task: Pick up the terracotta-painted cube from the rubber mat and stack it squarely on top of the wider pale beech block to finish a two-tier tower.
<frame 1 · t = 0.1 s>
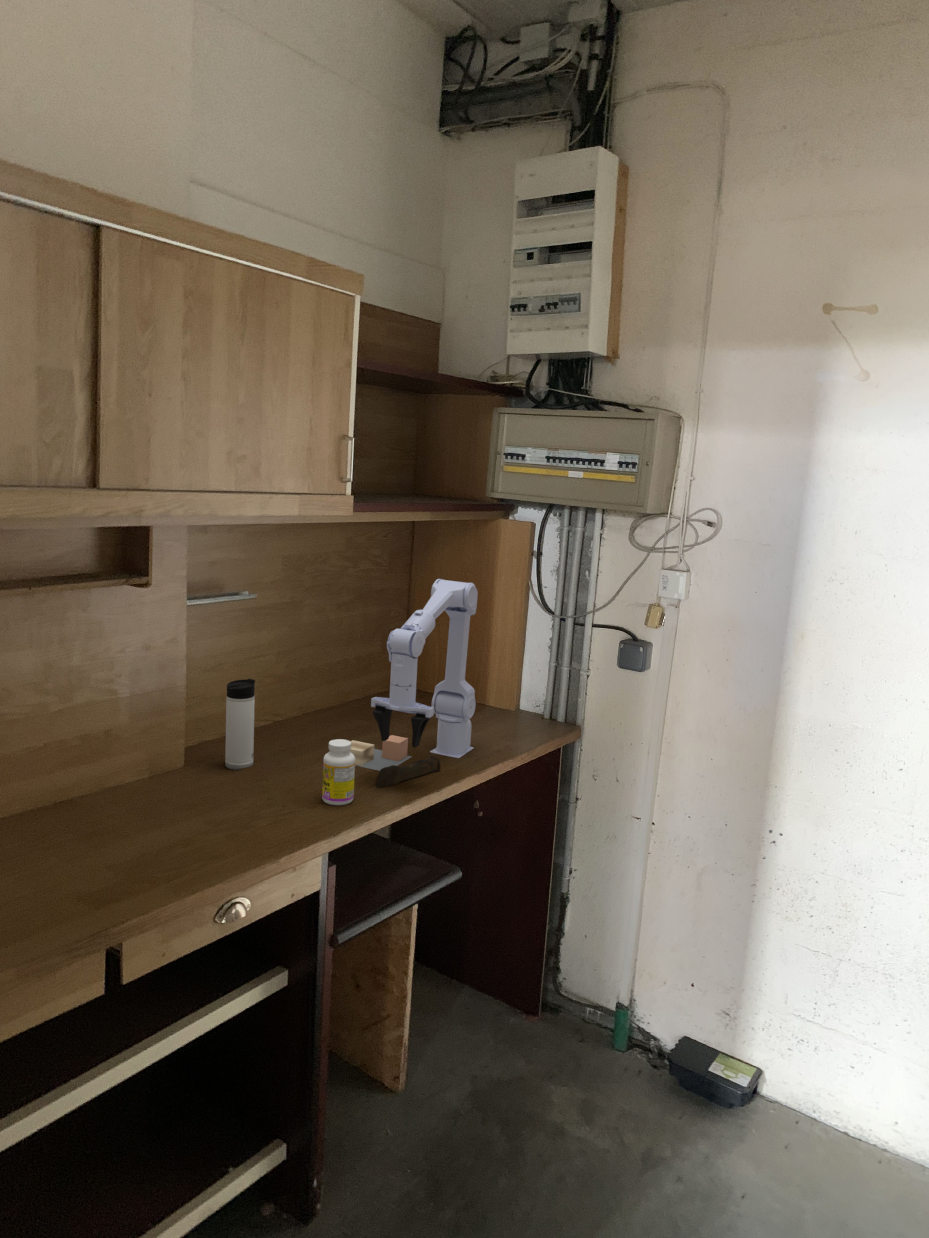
hand: (400, 742, 202), 10 cm above the table, tool pointing down, fingers open, 7 cm apart
terracotta cube: (394, 756, 221), resting on rubber mat
hand tool: (408, 782, 208), on the table
supplement bottle: (337, 801, 193), on the table
rubber mat: (373, 760, 219), on the table
beech block: (356, 759, 218), resting on rubber mat
travel mug: (239, 766, 211), on the table
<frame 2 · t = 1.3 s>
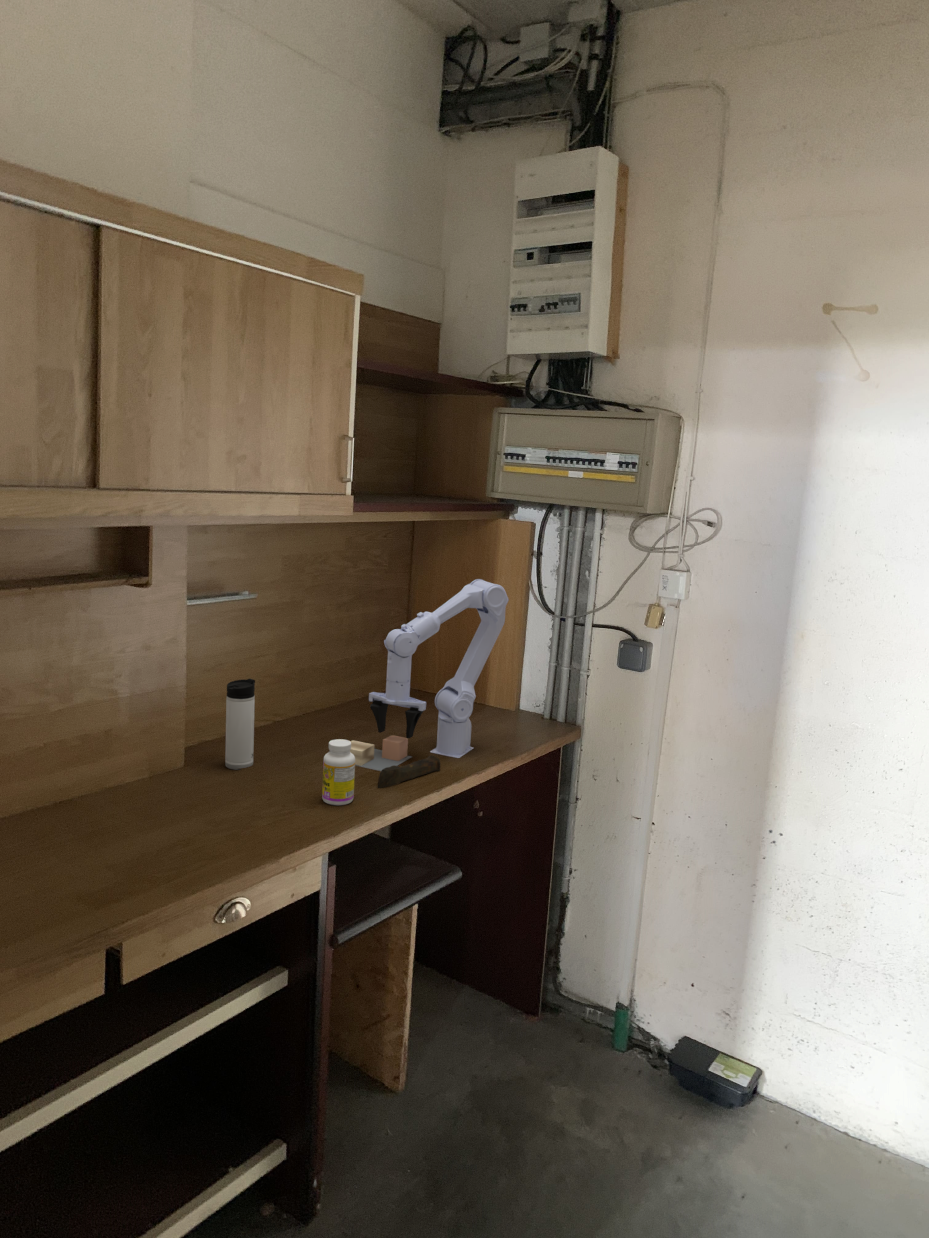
hand: (395, 734, 220), 6 cm above the table, tool pointing down, fingers open, 7 cm apart
nothing on the table moved.
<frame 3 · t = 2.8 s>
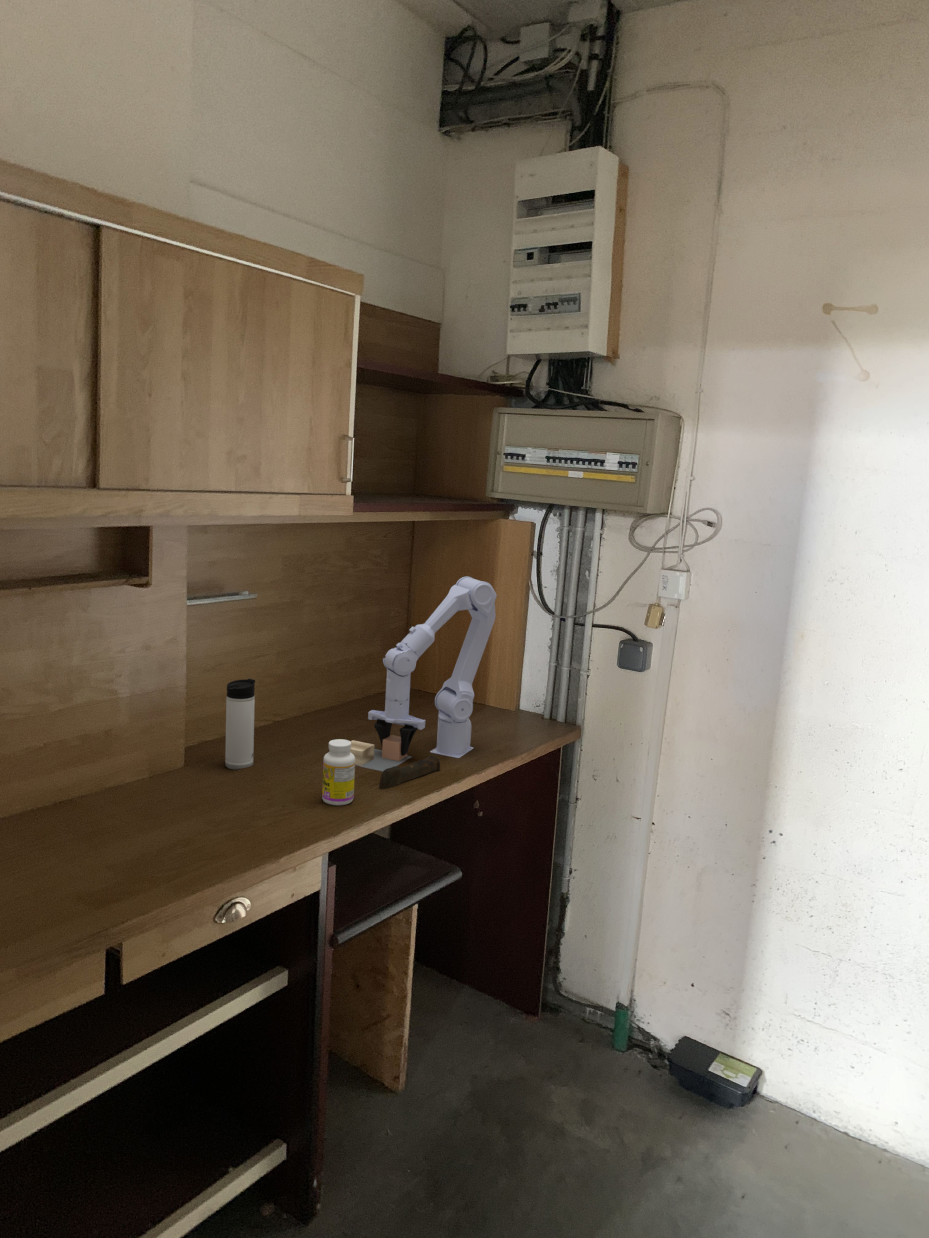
hand: (394, 752, 221), 2 cm above the table, tool pointing down, fingers closed on terracotta cube, 4 cm apart
terracotta cube: (394, 756, 221), resting on rubber mat, touching gripper
everything else where it was.
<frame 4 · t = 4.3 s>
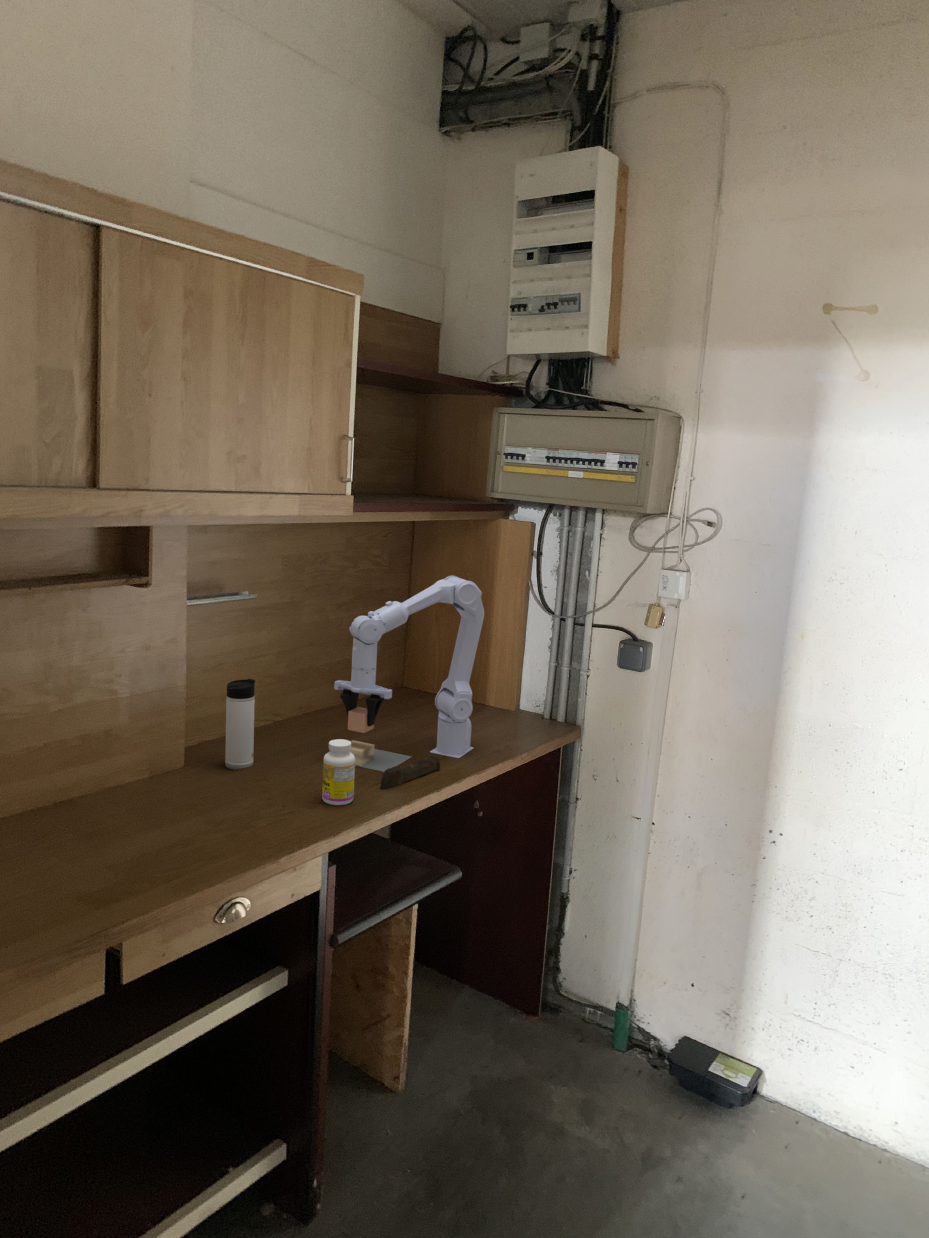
hand: (361, 723, 216), 10 cm above the table, tool pointing down, fingers closed on terracotta cube, 4 cm apart
terracotta cube: (360, 728, 216), point 8 cm above the table, touching gripper
everything else where it was.
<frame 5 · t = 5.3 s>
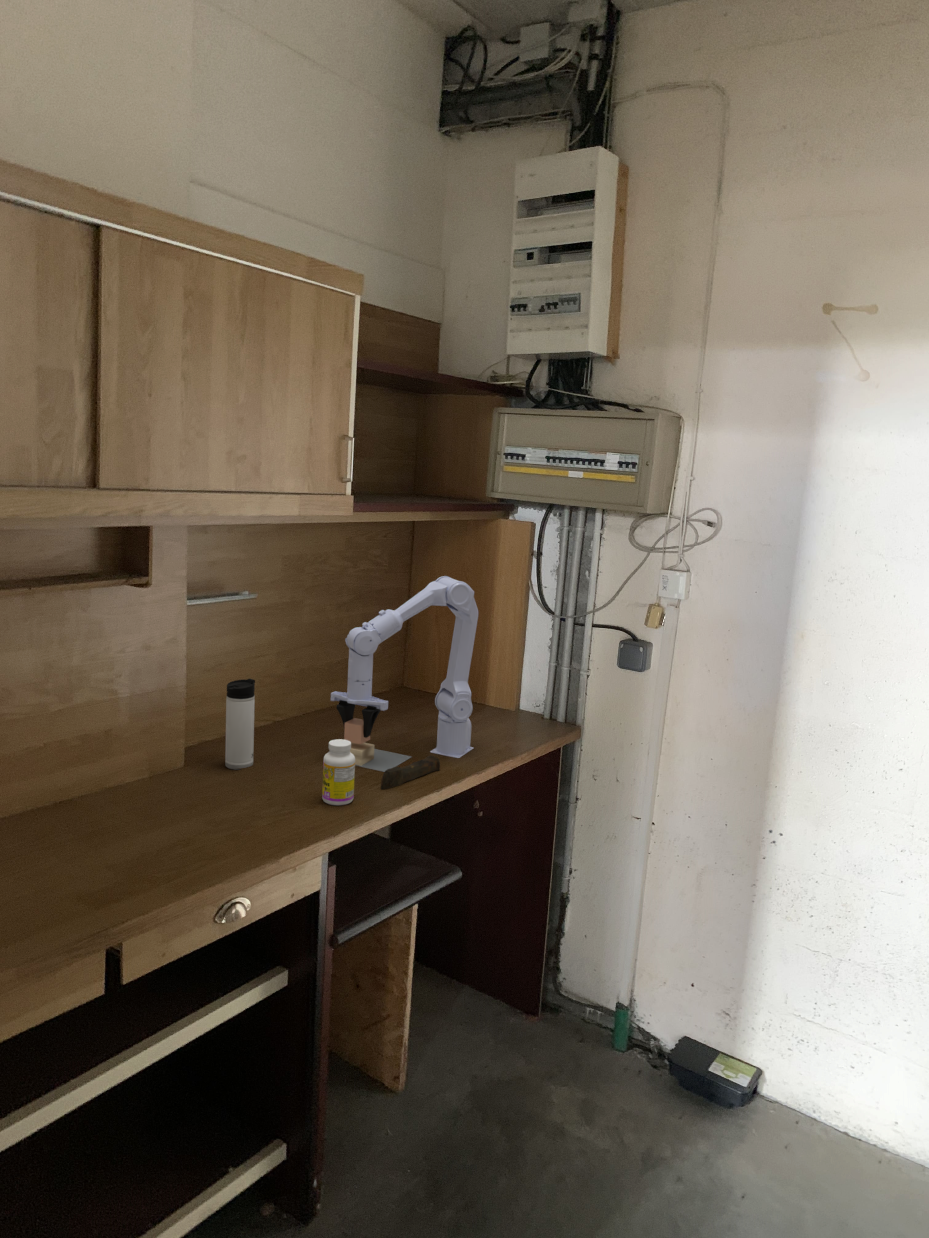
hand: (357, 734, 216), 7 cm above the table, tool pointing down, fingers closed on terracotta cube, 4 cm apart
terracotta cube: (357, 740, 217), point 5 cm above the table, touching gripper
everything else where it was.
when the fingers open (7 cm above the table, at t = 5.8 s): terracotta cube drops 1 cm, resting on beech block.
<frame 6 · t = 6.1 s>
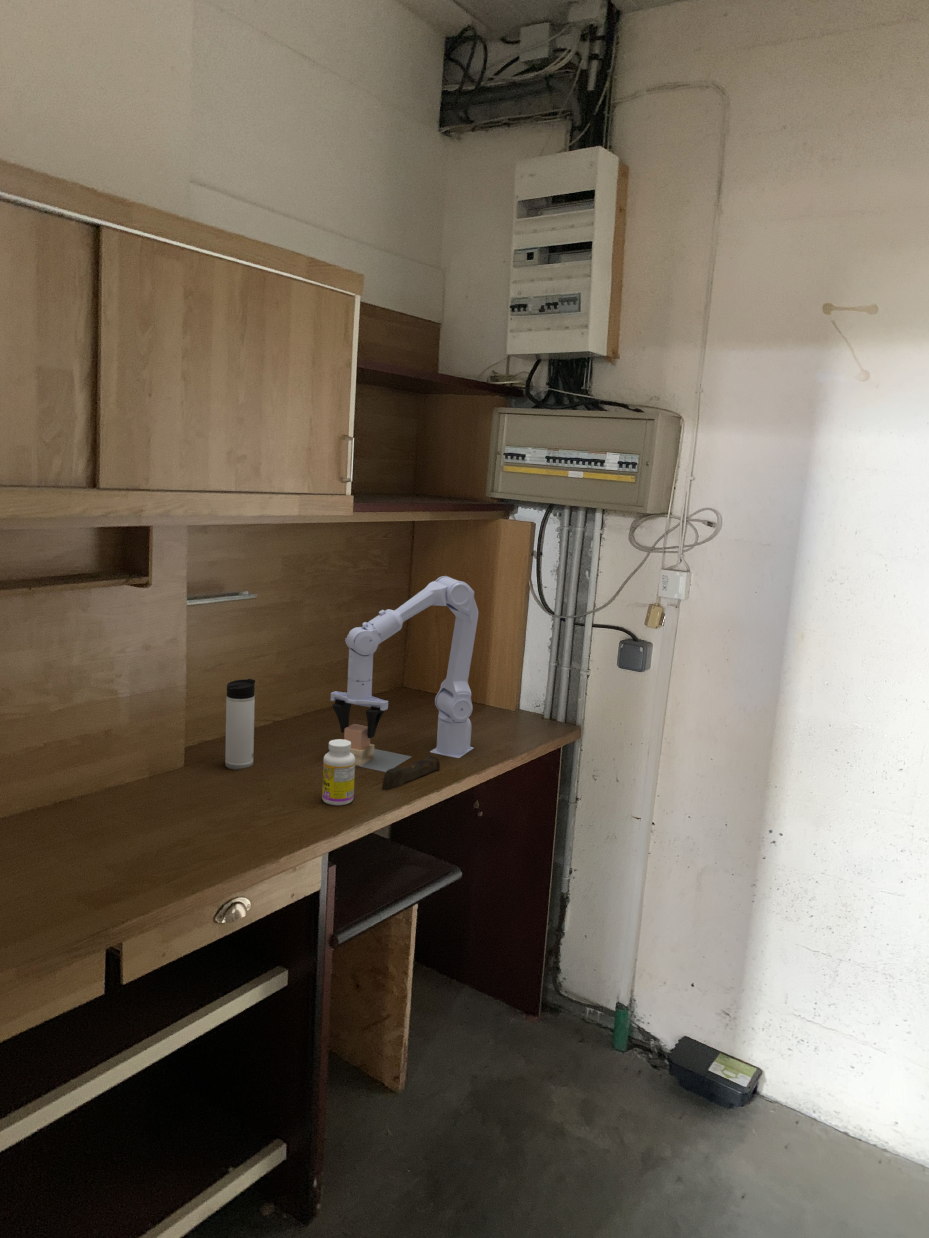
hand: (357, 734, 216), 7 cm above the table, tool pointing down, fingers open, 7 cm apart
terracotta cube: (356, 745, 217), point 4 cm above the table, touching beech block
beech block: (356, 759, 218), resting on rubber mat, touching terracotta cube
everything else where it was.
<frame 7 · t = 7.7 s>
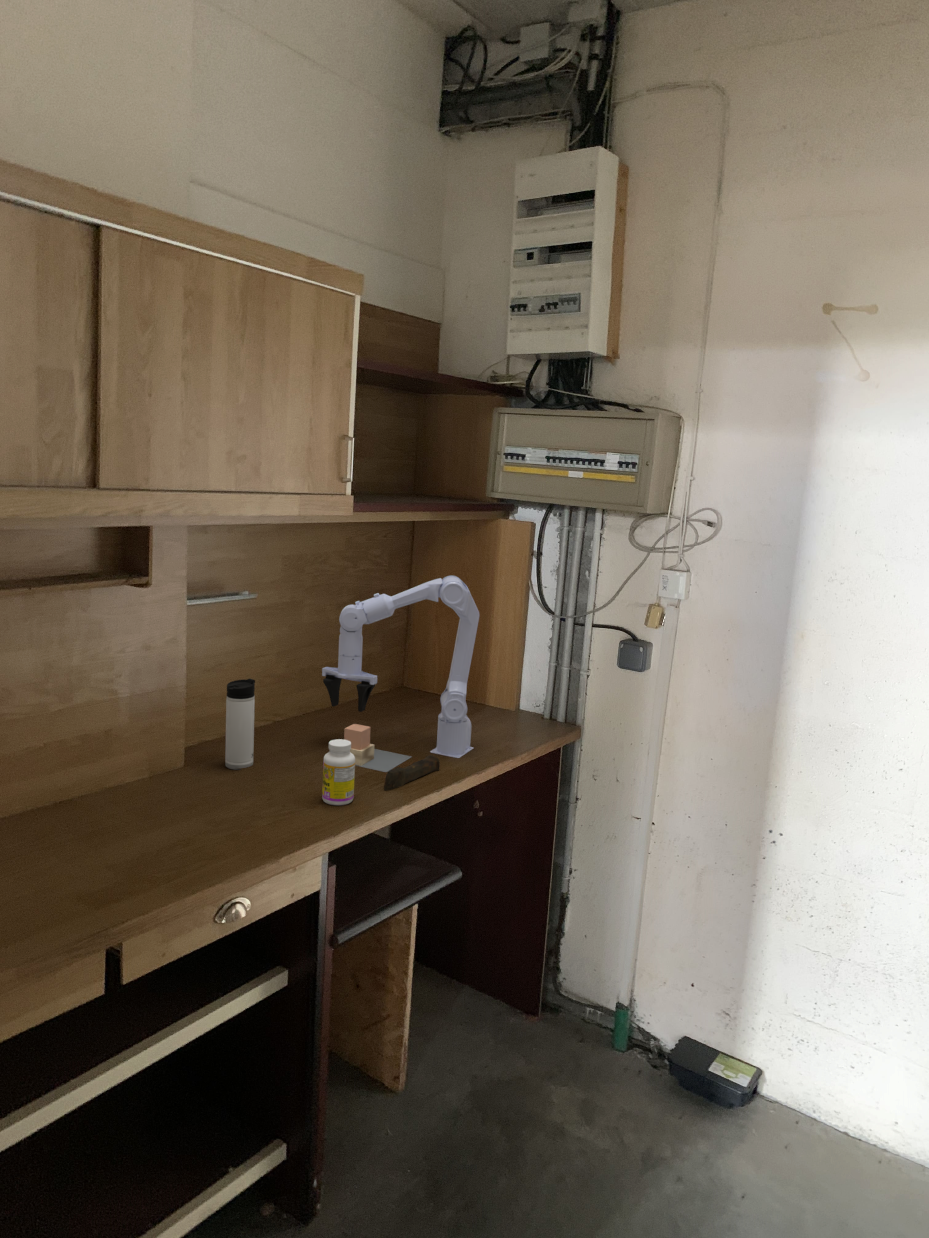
hand: (348, 708, 225), 10 cm above the table, tool pointing down, fingers open, 7 cm apart
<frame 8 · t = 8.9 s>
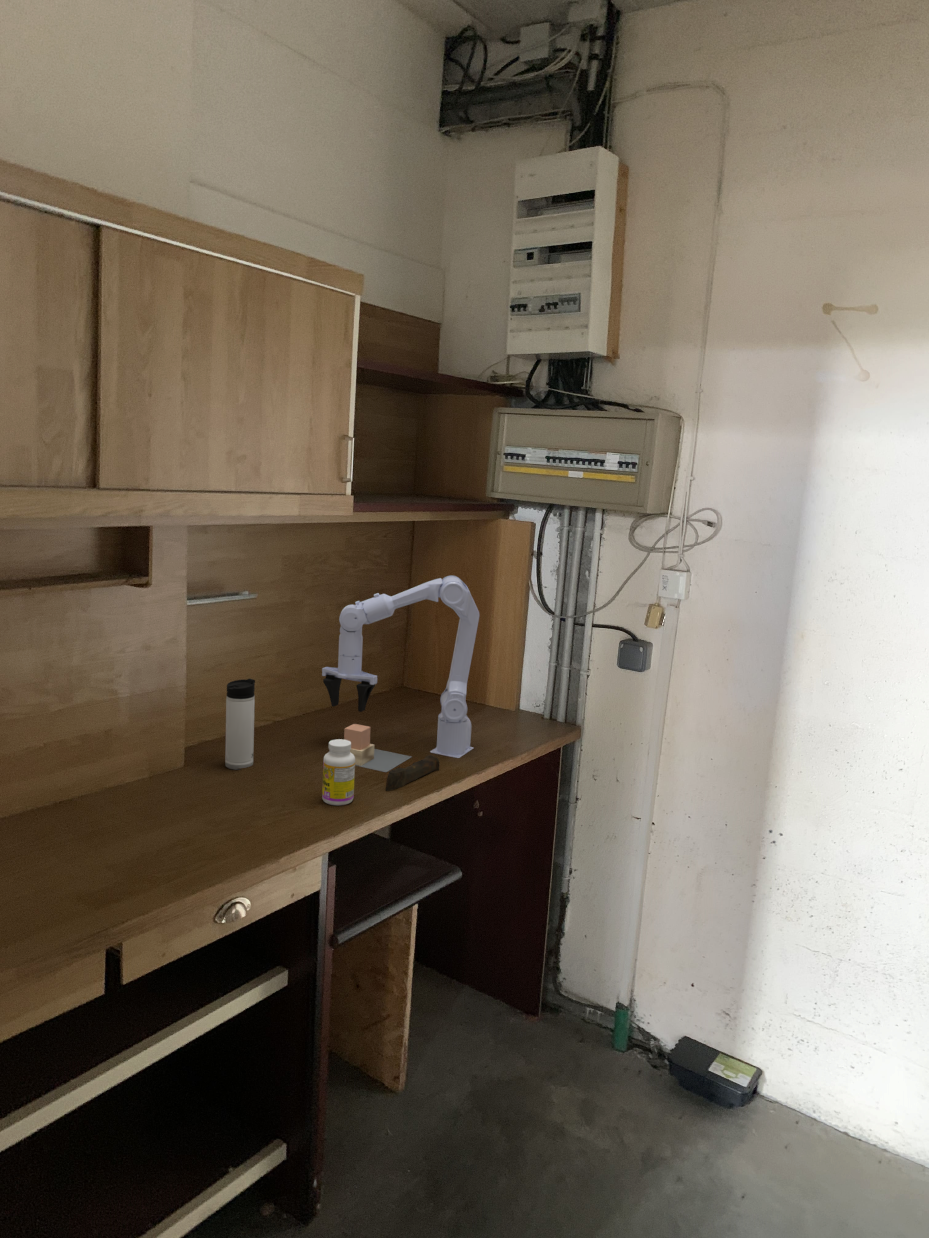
hand: (348, 708, 225), 10 cm above the table, tool pointing down, fingers open, 7 cm apart
at the end: terracotta cube 0.1 cm off-centre on the beech block, point 3.5 cm above the beech block's base; terracotta cube tilted 0°; beech block moved 0.0 cm from its start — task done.
